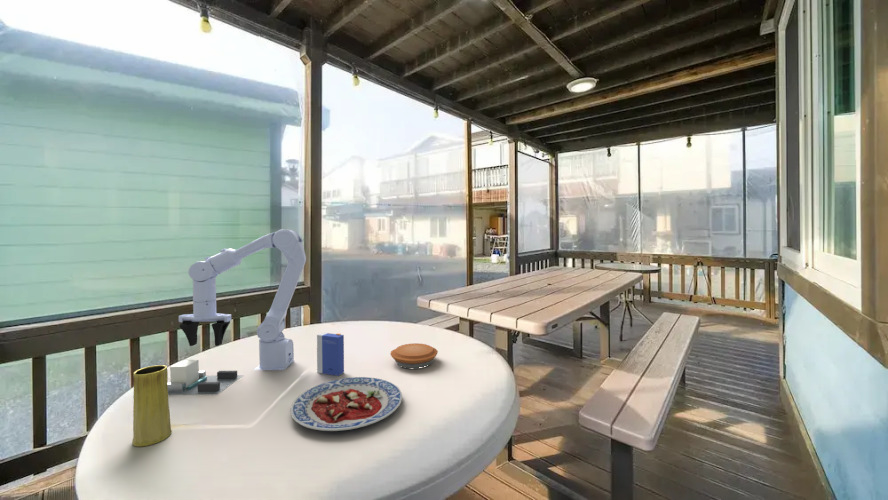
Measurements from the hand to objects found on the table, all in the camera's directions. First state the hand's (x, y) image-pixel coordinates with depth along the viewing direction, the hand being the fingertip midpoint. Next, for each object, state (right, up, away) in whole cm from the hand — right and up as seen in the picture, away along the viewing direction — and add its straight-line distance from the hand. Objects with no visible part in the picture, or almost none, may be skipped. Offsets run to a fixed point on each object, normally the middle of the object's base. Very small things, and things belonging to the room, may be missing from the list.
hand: (205, 345), depth 102 cm
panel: (+6, -9, -10) cm, 14 cm away
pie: (+63, -9, +9) cm, 64 cm away
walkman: (+38, -9, 0) cm, 39 cm away
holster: (+10, -8, -9) cm, 16 cm away
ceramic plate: (+49, -10, -21) cm, 54 cm away
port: (+1, -8, -10) cm, 13 cm away
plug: (+1, -8, -10) cm, 13 cm away
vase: (+13, -10, -33) cm, 37 cm away
